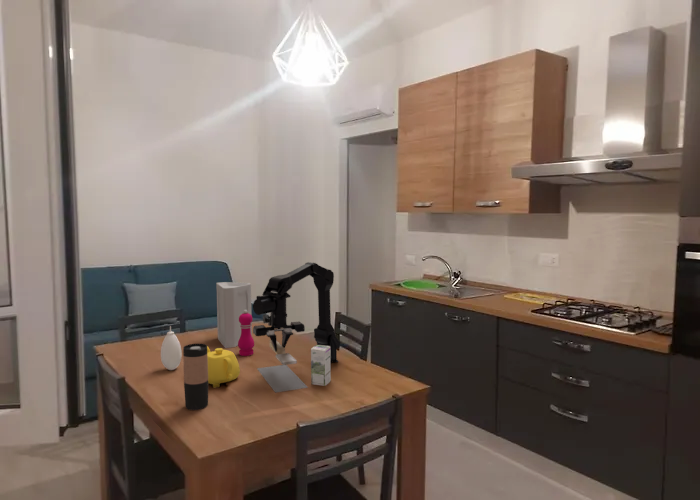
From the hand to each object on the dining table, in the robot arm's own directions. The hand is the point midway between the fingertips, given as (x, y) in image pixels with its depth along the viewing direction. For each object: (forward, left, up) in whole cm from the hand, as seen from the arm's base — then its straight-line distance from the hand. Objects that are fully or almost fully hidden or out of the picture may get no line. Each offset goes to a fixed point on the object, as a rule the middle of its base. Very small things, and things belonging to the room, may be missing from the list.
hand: (279, 350), depth 188 cm
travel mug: (+32, +14, -11) cm, 37 cm away
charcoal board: (0, +2, -11) cm, 11 cm away
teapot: (+22, -7, -11) cm, 26 cm away
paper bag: (+5, -60, -11) cm, 61 cm away
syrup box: (-12, +13, -11) cm, 21 cm away
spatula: (0, +2, -1) cm, 2 cm away
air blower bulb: (+37, -28, -11) cm, 48 cm away
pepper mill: (+5, -37, -11) cm, 39 cm away
